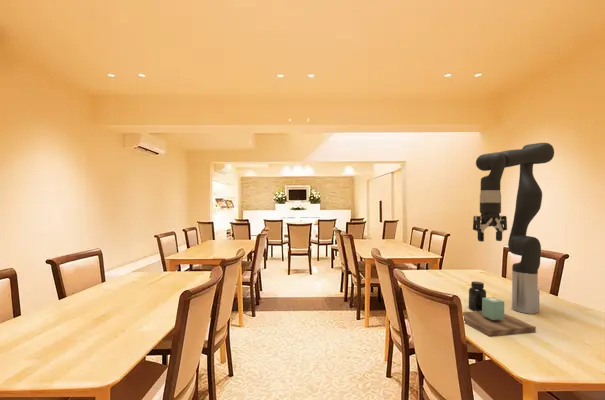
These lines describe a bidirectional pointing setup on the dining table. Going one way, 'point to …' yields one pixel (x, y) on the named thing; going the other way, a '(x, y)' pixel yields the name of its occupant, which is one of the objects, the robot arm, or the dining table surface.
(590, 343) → the dining table surface
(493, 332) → the brown wooden board
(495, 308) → the green cube with circle
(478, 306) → the supplement bottle
